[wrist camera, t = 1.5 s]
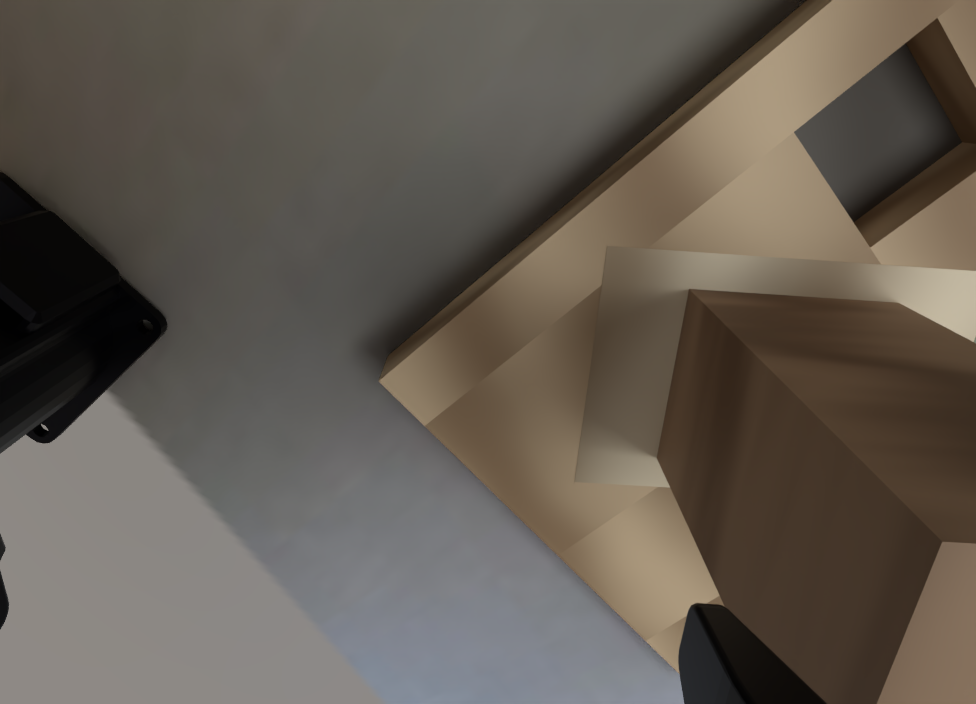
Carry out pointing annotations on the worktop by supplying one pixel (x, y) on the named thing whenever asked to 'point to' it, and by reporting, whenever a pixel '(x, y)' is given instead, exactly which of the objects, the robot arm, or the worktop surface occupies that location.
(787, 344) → the walnut box
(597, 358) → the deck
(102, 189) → the worktop surface
